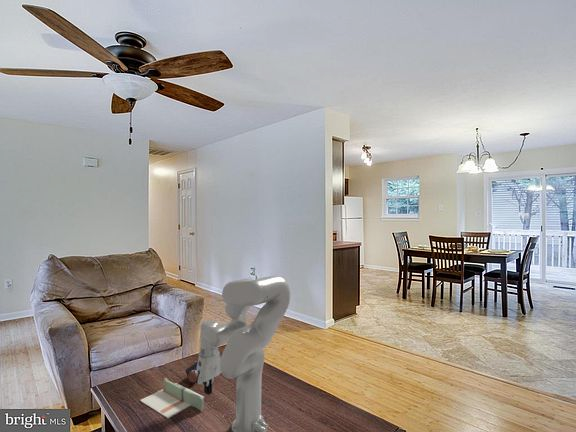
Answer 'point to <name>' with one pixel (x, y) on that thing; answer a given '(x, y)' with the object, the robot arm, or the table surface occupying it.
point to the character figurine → (192, 373)
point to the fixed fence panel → (172, 388)
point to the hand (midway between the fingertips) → (207, 392)
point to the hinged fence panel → (193, 399)
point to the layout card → (166, 402)
